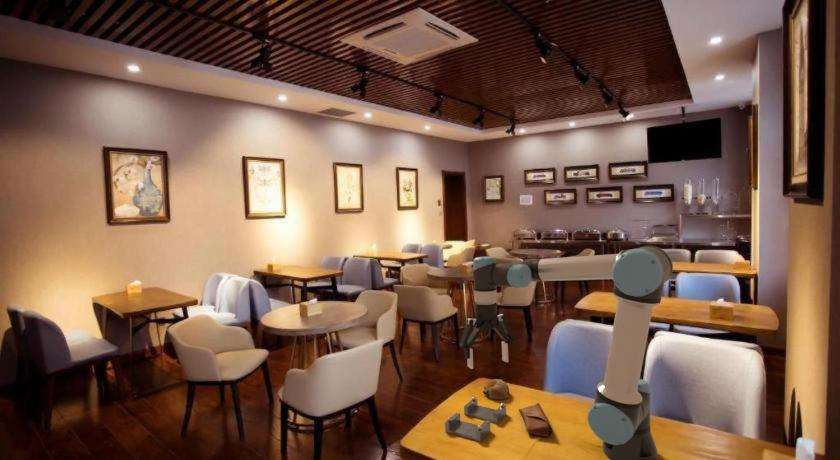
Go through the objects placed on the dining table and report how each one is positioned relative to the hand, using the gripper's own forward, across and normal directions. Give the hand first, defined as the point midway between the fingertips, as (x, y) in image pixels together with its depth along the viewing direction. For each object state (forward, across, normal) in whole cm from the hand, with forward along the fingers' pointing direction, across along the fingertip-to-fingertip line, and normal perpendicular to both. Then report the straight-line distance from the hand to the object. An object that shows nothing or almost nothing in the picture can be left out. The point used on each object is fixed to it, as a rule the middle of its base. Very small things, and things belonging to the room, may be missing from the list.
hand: (488, 364), depth 150 cm
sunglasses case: (+23, -14, +3) cm, 27 cm away
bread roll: (+23, -14, -22) cm, 35 cm away
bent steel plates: (+22, +2, -6) cm, 23 cm away
